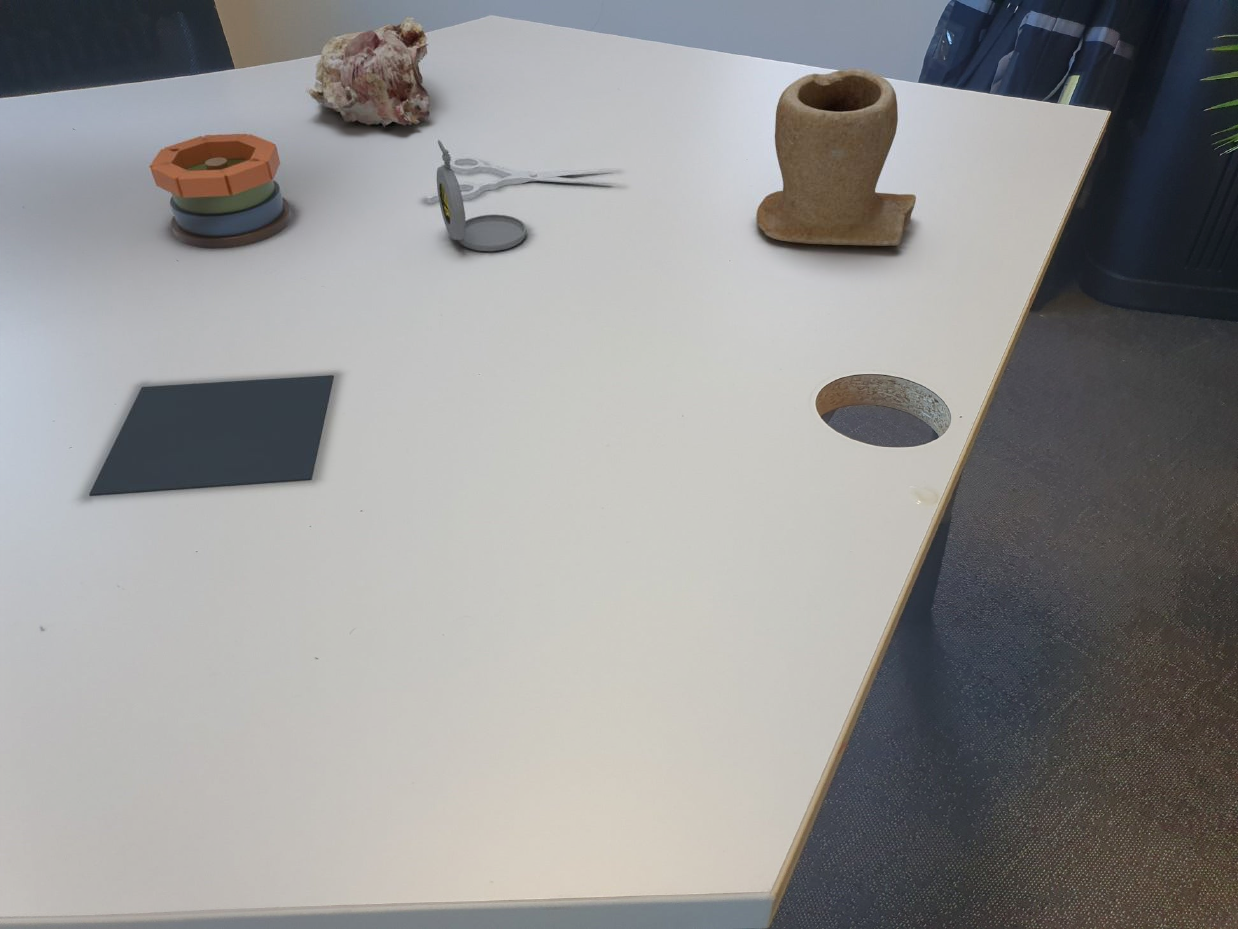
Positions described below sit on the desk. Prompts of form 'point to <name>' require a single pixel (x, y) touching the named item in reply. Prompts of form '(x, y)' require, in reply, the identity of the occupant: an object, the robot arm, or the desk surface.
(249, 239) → the stack
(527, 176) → the scissors
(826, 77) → the stone cup
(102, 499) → the desk surface
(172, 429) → the mat
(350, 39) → the mineral formation
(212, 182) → the ring
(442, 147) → the pocket watch
